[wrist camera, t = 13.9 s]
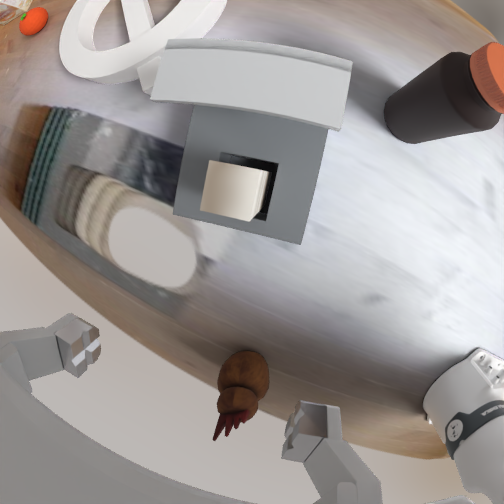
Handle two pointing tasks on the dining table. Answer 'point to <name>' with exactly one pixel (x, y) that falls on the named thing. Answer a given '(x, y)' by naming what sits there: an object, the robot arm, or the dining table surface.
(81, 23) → the ring with crossbar
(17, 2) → the coffeecake box
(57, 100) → the dining table surface
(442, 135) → the bottle
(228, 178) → the peg
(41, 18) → the clementine
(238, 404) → the wooden figurine
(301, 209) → the socket block
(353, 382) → the dining table surface
